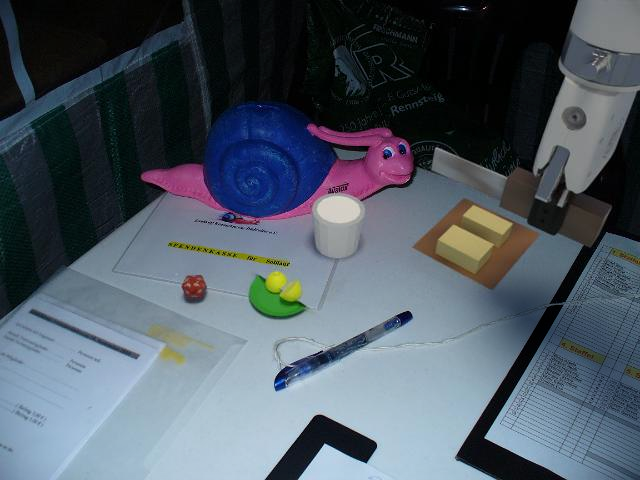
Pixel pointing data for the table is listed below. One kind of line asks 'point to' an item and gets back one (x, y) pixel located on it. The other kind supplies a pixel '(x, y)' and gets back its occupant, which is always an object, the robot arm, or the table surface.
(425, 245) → the cutting board
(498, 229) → the butter slice
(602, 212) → the knife
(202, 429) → the table surface
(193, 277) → the die
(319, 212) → the white ramekin
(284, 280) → the green and yellow piece
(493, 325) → the table surface
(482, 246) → the butter
